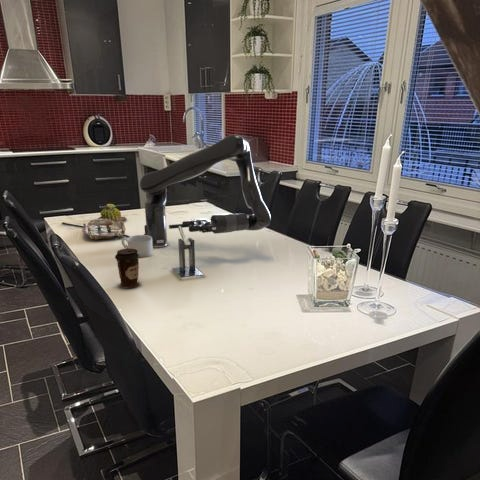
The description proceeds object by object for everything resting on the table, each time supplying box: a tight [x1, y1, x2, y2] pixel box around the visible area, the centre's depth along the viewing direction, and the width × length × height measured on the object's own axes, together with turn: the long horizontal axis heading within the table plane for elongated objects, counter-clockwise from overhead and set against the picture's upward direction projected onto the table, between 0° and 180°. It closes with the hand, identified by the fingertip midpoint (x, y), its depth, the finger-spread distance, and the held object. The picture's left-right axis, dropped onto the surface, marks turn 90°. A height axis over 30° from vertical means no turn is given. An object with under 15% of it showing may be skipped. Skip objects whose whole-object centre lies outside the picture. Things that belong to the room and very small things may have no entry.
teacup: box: [120, 234, 154, 259], centre depth 203 cm, size 14×11×8 cm
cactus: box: [97, 203, 127, 223], centre depth 266 cm, size 17×16×10 cm
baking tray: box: [81, 218, 127, 241], centre depth 236 cm, size 30×22×5 cm
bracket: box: [172, 237, 204, 279], centre depth 180 cm, size 12×9×14 cm
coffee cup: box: [114, 248, 140, 289], centre depth 167 cm, size 9×8×13 cm
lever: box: [168, 223, 191, 250], centre depth 180 cm, size 12×8×2 cm
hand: (185, 226), depth 184 cm, fingers open, 8 cm apart
